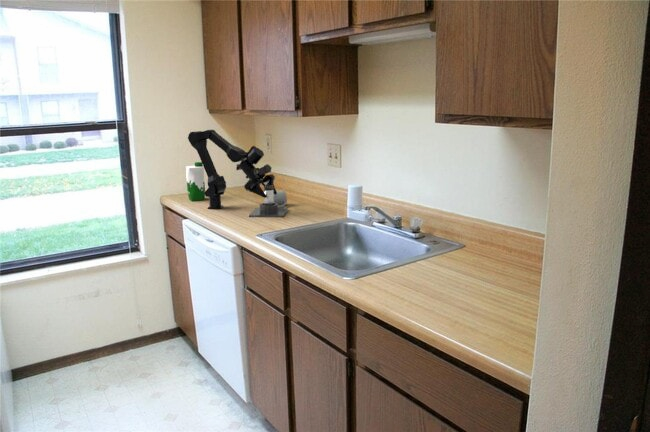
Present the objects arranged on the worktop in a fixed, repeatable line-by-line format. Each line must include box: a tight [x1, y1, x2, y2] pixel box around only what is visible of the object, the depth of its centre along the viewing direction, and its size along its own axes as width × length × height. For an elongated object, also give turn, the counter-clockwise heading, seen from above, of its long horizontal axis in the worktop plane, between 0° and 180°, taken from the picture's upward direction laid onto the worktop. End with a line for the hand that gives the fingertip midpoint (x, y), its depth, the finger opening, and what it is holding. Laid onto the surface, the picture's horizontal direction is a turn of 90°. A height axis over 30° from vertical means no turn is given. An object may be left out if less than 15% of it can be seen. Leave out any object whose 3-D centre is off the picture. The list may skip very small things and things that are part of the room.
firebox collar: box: [248, 202, 289, 218], centre depth 243 cm, size 16×16×4 cm
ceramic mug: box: [273, 189, 288, 208], centre depth 259 cm, size 11×8×8 cm
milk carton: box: [185, 161, 206, 202], centre depth 276 cm, size 9×9×20 cm
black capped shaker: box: [263, 185, 274, 206], centre depth 242 cm, size 4×4×12 cm
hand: (271, 195), depth 241 cm, fingers open, 9 cm apart
